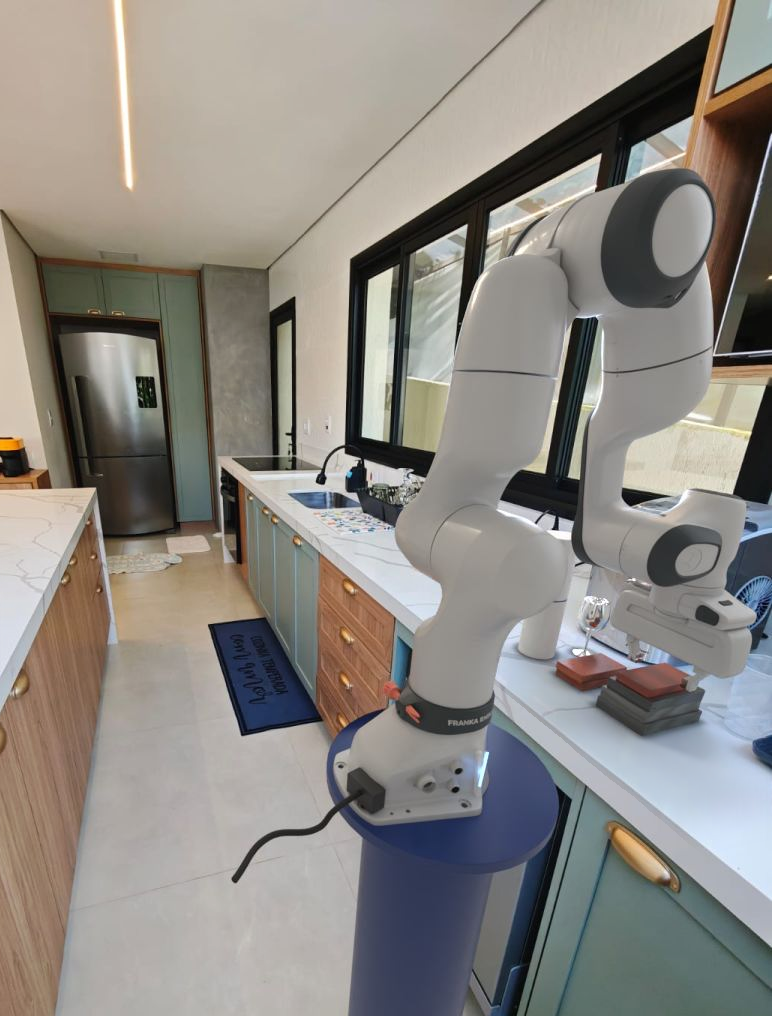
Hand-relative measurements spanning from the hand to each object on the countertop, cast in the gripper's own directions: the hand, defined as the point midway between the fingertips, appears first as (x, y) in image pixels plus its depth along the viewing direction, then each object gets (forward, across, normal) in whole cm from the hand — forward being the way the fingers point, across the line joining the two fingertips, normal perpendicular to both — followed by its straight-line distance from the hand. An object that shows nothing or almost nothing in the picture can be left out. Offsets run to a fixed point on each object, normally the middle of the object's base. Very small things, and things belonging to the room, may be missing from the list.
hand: (659, 674), depth 83 cm
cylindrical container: (+8, -24, -2) cm, 25 cm away
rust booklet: (+2, 0, 0) cm, 2 cm away
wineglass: (+8, -20, +7) cm, 22 cm away
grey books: (+8, 0, 0) cm, 8 cm away
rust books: (+8, -12, 0) cm, 14 cm away
